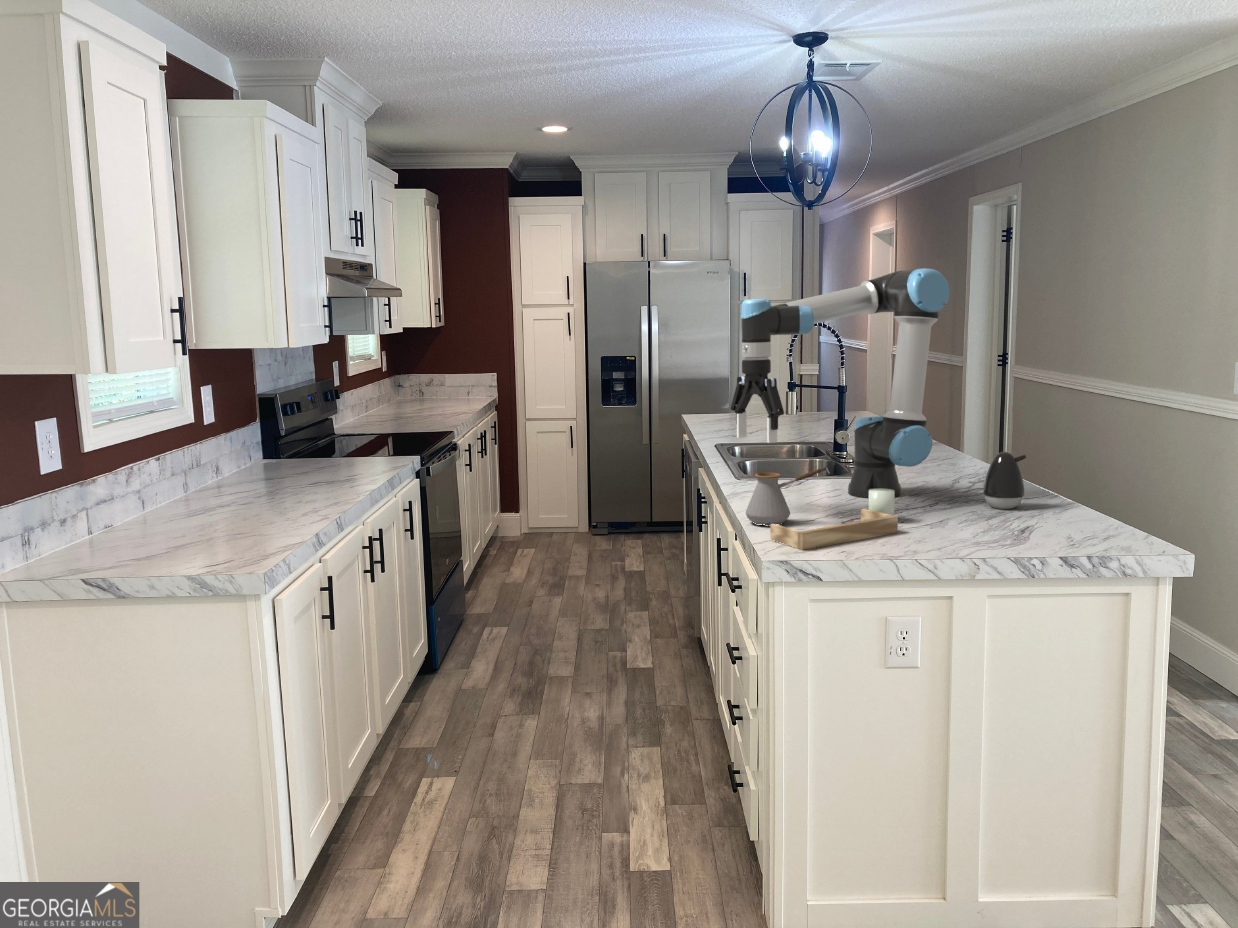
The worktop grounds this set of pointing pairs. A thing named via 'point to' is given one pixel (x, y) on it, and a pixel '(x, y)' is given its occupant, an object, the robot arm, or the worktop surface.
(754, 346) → the robot arm
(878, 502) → the green jar
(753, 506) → the coffee pot
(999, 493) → the pump dispenser
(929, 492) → the worktop surface
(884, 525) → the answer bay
